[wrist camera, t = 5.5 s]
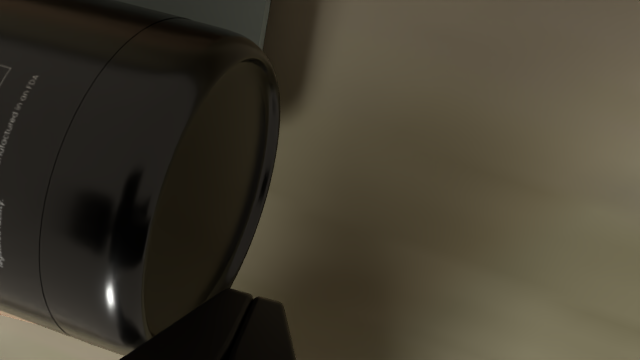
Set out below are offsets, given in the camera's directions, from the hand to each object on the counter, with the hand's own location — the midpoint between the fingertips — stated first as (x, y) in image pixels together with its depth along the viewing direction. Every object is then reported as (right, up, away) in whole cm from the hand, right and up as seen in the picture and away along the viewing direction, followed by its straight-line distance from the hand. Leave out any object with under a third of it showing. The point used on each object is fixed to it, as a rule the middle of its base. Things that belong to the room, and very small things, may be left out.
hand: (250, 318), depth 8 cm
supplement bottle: (-1, +1, +3) cm, 4 cm away
